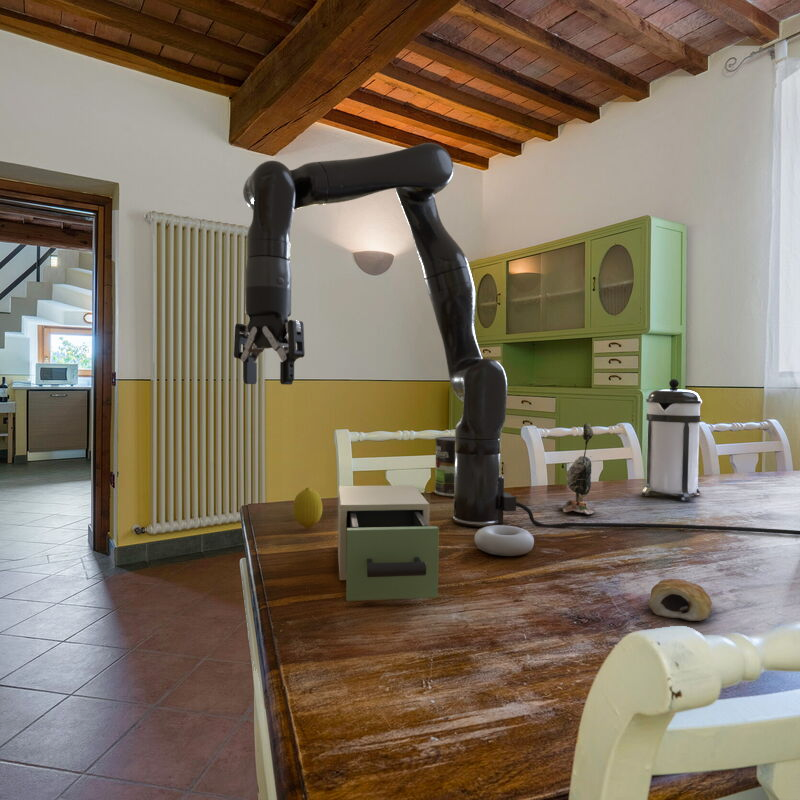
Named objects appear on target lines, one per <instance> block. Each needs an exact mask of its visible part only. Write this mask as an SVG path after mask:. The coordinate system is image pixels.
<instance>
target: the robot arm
mask: <svg viewBox="0 0 800 800" xmlns="http://www.w3.org/2000/svg"><path fill="white" fill-rule="evenodd" d="M453 175H454V162H453V159H452V157H451V154H450V153H449V151H448V150H447V149H446V148H444V147H443V146H442V145H440V144H437V143H434V142H424V143H420V144H417V145H413V146H410V147H407V148H404V149H400V150H395V151H391V152H387V153H382V154H376V155H370V156H363V157H357V158H345V159H335V160H321V161H312V162H308V163H304V164H302V165H301V166H299V167H296V168H294V169H289V167H287V166H286V165H285V164H284V163H283V162H281V161H278V160H267V161H264V162H262V163H260V164H259V165H258V166H257V167H256V168H255V169H254V170H253V171H252V173H250V175H249V176H248V177H247V179H246V180H245V182H244V184H243V189H242V195H243V199H244V201H245V204H246V205H247V206H248V207H249V208H250V209H251V210H252V220H251V223H250V226H249V227H248V229H247V239H246V265H245V277H244V279H245V281H244V282H245V283H244V284H245V285H244V287H245V288H244V292H245V293H244V294H245V295H244V296H245V298H244V299H245V300H244V303H245V305H244V306H245V307H244V313H245V315H247V316H248V319H249V320H248V323H247V324H245V323H235V326H234V342H233V343H234V344H233V357H234V358H235V359H239V360H240V361H241V362H242V364H243V365H242V369H243V370H242V373H243V374H242V378H243V382H244V385H245V384H246V385H257V383H258V377H257V376H258V362H257V360H258V358H259V355H260V354H261V353H263V352H264V350H265V349H266V350H267V349H273V350H274V351H275V352H276V353H277V354H278V357H279V358H280V360H281V361H280V362H279V368H280V369H279V375H280V376H279V382H280V384H281V385H285V386H287V385H288V386H289V385H290V386H291V385H292V384H293V382H294V380H295V362H296V361H297V360H298V359H300V358H304V357H305V329H304V328H305V327H304V325H305V324H304V322H303V321H301V320H296V319H295V320H294V319H289V317H290V316H291V315H292V270H291V269H292V268H291V239H290V238H291V237H290V236H291V235H290V234H291V229H292V224H293V219H294V213H295V210H298V209H303V208H305V207H310V206H320V205H321V206H322V205H329V204H339V203H345V202H349V201H354V200H358V199H360V198H364V197H367V196H370V195H373V194H377V193H380V192H384V191H387V190H393V189H394V190H395V192H396V195H397V198H398V201H399V203H400V206H401V208H402V211H403V213H404V216H405V218H406V221H407V223H408V224H407V225H409V226H408V227H409V230H410V232H411V236H412V239H413V242H414V245H415V250H416V253H417V256H418V259H419V263H420V266H421V270H422V276H423V279H424V282H425V286H426V290H427V294H428V296H429V300H430V303H431V307H432V309H433V313H434V316H435V320H436V324H437V326H438V327H437V328H438V330H439V333H440V337H441V340H442V344H443V349H444V354H445V359H446V365H447V371H448V378H449V383H450V386H451V390H452V392H453V393H454V395H455V396H456V397H457V398H458V399H459V400H460V401H461V402H462V403H463V405H462V414H461V418H460V419H459V420H458V422H457V423H456V424H455V428H454V434H455V435H454V437H455V480H454V497H453V517H452V518H453V519H452V520H453V522H454V523H455V524H458V525H461V526H463V527H464V526H465V527H472V528H484V527H487V526H494V525H504V512H516V511H517V507H518V508H520V509H523V510H524V511H525V512H526V513H527V514H528V517H529V521H530V522H531V523H532V524H533V525H535V526H537V527H541V528H569V527H570V528H571V527H574V528H639V529H640V528H643V529H645V528H646V529H677V530H678V529H679V530H681V529H682V530H708V531H729V532H731V531H732V532H747V533H749V532H751V533H765V534H780V535H781V534H783V535H793V536H794V535H795V536H796V535H797V536H800V530H796V529H781V528H780V529H779V528H765V527H751V526H750V527H749V526H748V527H747V526H730V525H729V526H728V525H708V524H707V525H705V524H681V523H680V524H679V523H678V524H677V523H640V522H638V523H636V522H635V523H634V522H633V523H632V522H626V523H625V522H560V523H549V524H548V523H542V522H539V521H538V520H535V518H534V514H533V511H532V510H531V509H530V507H528V506H527V505H525V504H523V503H522V502H521V503H520V502H519V501H517V496H515V495H513V494H511V493H509V492H507V491H506V492H505V477H504V476H503V475H501V466H502V465H501V458H502V453H501V452H502V432H503V428H504V425H505V423H506V416H507V401H508V379H507V375H506V371H505V369H504V367H503V366H502V364H501V363H500V362H498V361H497V360H495V359H492V358H488V357H487V358H486V357H483V356H482V354H481V351H480V346H479V343H478V341H477V336H476V327H475V322H476V304H477V300H476V299H477V295H476V286H475V282H474V279H473V278H474V277H473V274H472V271H471V267H470V264H469V261H468V258H467V256H466V254H465V252H464V251H463V249H462V248H461V247H460V245H459V244H458V243H457V242H456V240H455V239H454V238H453V237H452V236H451V234H449V232H448V230H447V229H446V228H445V226H444V224H443V222H442V219H441V216H440V214H439V211H438V207H437V203H436V197H435V195H436V194H438V193H439V192H441V191H443V190H444V189H445V188H446V187H447V186H448V184H450V182H451V181H452V178H453Z"/></svg>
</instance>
